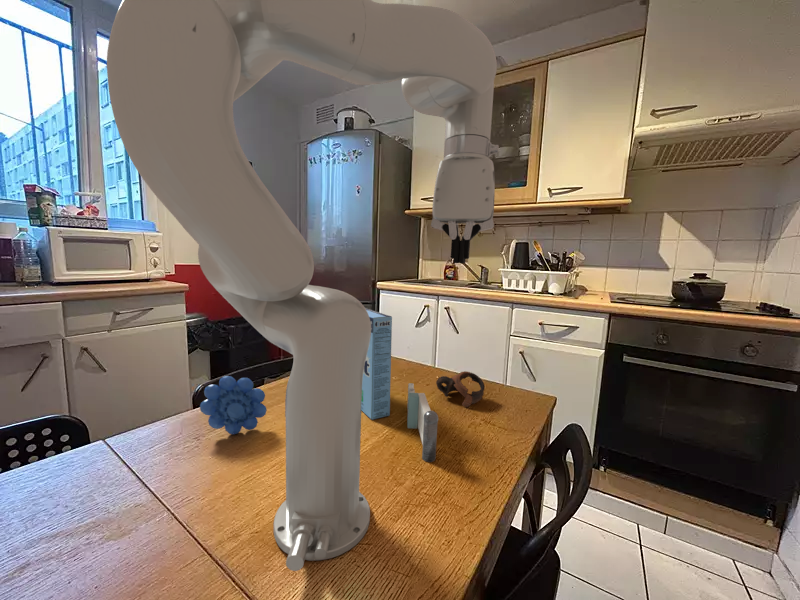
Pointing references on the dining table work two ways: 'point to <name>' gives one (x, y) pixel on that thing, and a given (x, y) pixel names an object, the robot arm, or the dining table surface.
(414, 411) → the block
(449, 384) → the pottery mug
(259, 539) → the dining table surface
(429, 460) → the hinge post
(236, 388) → the blue flower
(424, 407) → the gate
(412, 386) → the fence panel
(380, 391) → the gum box
